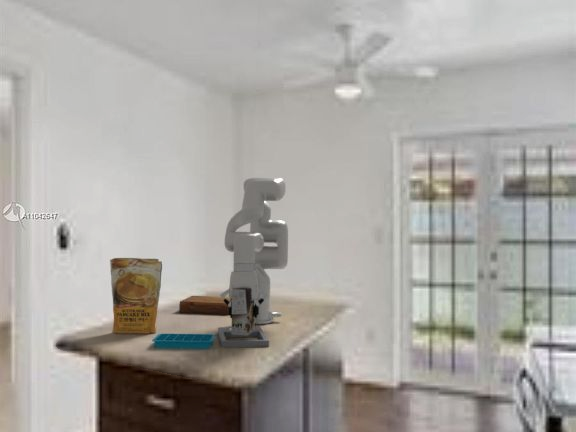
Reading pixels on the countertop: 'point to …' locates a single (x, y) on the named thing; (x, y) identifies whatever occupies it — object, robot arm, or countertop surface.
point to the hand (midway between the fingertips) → (243, 317)
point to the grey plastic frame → (226, 333)
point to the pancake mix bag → (135, 294)
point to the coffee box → (242, 312)
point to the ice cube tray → (184, 341)
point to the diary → (204, 305)
